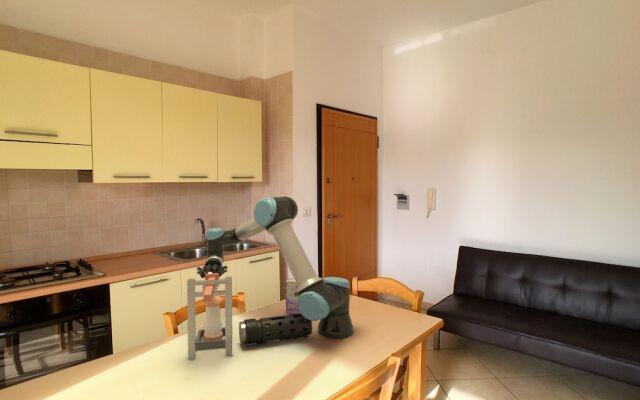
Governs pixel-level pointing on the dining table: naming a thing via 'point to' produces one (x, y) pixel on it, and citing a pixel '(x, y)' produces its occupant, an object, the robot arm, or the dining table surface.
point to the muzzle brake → (274, 329)
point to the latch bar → (210, 287)
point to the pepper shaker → (213, 319)
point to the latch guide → (192, 315)
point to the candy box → (292, 297)
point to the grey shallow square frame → (209, 341)
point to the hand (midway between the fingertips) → (208, 279)
